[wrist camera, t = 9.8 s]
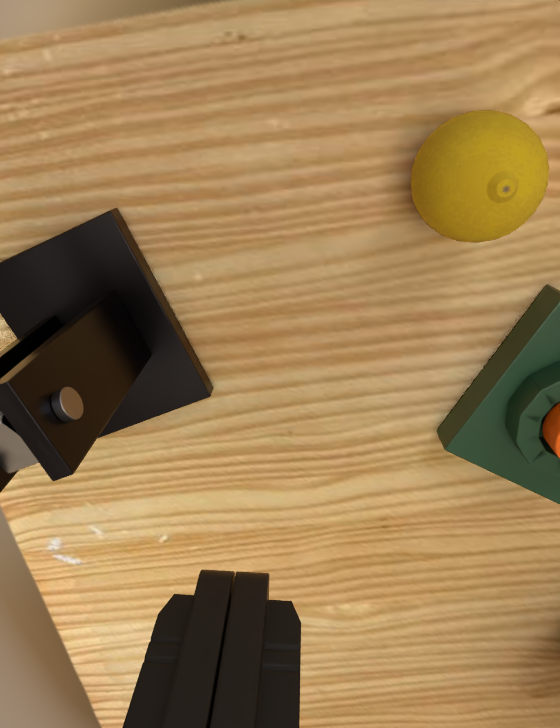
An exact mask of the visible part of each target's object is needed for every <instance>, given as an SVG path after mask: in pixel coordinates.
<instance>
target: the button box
mask: <svg viewBox="0 0 560 728" xmlns="http://www.w3.org/2000/svg"><path fill="white" fill-rule="evenodd" d="M558 403H560V291H559V290H557V289H555V288H553V287H551V286H549V285H546V286H545V288H544V289H543V290H542V292H541V293H540V294H539V296H538V297H537V298H536V300H535V301H534V302H533V304H532V305H531V306H530V308H529V309H528V310H527V312H526V313H525V314H524V315H523V317H522V318H521V319H520V321H519V322H518V323H517V325H516V326H515V327H514V329H513V330H512V331H511V333H510V334H509V335H508V337H507V338H506V339H505V341H504V342H503V343H502V345H501V346H500V347H499V349H498V350H497V351H496V353H495V354H494V355H493V357H492V358H491V359H490V361H489V362H488V363H487V365H486V366H485V367H484V369H483V370H482V371H481V373H480V374H479V375H478V377H477V378H476V379H475V381H474V382H473V383H472V385H471V386H470V387H469V389H468V390H467V391H466V392H465V394H464V395H463V396H462V398H461V399H460V400H459V402H458V403H457V404H456V406H455V407H454V408H453V410H452V411H451V412H450V414H449V415H448V416H447V418H446V419H445V420H444V422H443V423H442V424H441V426H440V427H439V428H438V430H437V433H438V435H439V438H440V440H441V442H442V445H443V447H444V449H445V450H446V451H448V452H450V453H453V454H455V455H457V456H459V457H461V458H463V459H465V460H467V461H469V462H472V463H474V464H476V465H478V466H480V467H482V468H484V469H486V470H488V471H491V472H493V473H495V474H497V475H499V476H501V477H503V478H505V479H507V480H510V481H512V482H514V483H516V484H518V485H520V486H522V487H524V488H526V489H529V490H531V491H533V492H535V493H537V494H539V495H541V496H543V497H545V498H548V499H550V500H552V501H554V502H556V503H558V504H560V459H559V457H558V456H557V455H556V453H555V452H554V451H553V450H552V448H551V447H550V446H549V444H548V443H547V442H546V440H545V438H544V436H543V423H544V420H545V417H546V416H547V414H548V413H549V411H550V410H551V409H552V408H553V407H554V406H555V405H557V404H558Z"/></svg>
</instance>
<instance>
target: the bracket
mask: <svg viewBox="0 0 560 728" xmlns="http://www.w3.org/2000/svg"><path fill="white" fill-rule="evenodd" d="M0 313H1V315H2V316H3V318H4V319H5V321H6V322H7V324H8V325H9V327H10V328H11V330H12V331H13V333H14V334H15V336H16V337H17V340H15V341H14V342H13V343H11V344H10V345H9V346H7V347H6V348H5V349H3V350H2V351H1V352H0V410H1V411H2V413H3V414H4V415H5V417H6V418H7V419H8V421H9V422H10V423H11V425H12V426H13V428H14V429H15V430H16V432H17V433H18V434H19V436H20V437H21V438H22V440H23V441H24V443H25V444H26V445H27V447H28V448H29V449H30V451H31V452H32V453H33V455H34V456H35V458H36V459H37V460H38V462H39V463H40V464H41V466H42V467H43V469H44V470H45V471H46V473H47V474H48V475H49V477H50V478H51V479H52V481H56V480H58V479H61V478H64V477H67V476H70V475H72V474H74V472H75V471H76V469H77V468H78V466H79V465H80V463H81V462H82V460H83V459H84V457H85V456H86V454H87V453H88V451H89V450H90V448H91V447H92V445H93V444H94V442H95V441H96V439H97V438H99V437H102V436H105V435H108V434H110V433H113V432H116V431H118V430H121V429H124V428H126V427H129V426H132V425H135V424H137V423H140V422H143V421H145V420H148V419H151V418H153V417H156V416H159V415H162V414H164V413H167V412H170V411H172V410H175V409H178V408H180V407H183V406H186V405H189V404H191V403H194V402H197V401H199V400H202V399H205V398H207V397H210V396H211V393H212V390H213V386H212V384H211V382H210V380H209V379H208V377H207V375H206V373H205V371H204V369H203V367H202V365H201V364H200V362H199V360H198V358H197V356H196V354H195V352H194V351H193V349H192V347H191V345H190V343H189V341H188V339H187V337H186V336H185V334H184V332H183V330H182V328H181V326H180V324H179V323H178V321H177V319H176V317H175V315H174V313H173V311H172V309H171V308H170V306H169V304H168V302H167V300H166V298H165V296H164V294H163V293H162V291H161V289H160V287H159V285H158V283H157V281H156V280H155V278H154V276H153V274H152V272H151V270H150V268H149V266H148V265H147V263H146V261H145V259H144V257H143V255H142V253H141V252H140V250H139V248H138V246H137V244H136V242H135V240H134V238H133V237H132V235H131V233H130V231H129V229H128V227H127V225H126V224H125V222H124V220H123V218H122V216H121V214H120V212H119V210H118V209H117V208H115V209H113V210H111V211H108V212H106V213H104V214H102V215H100V216H98V217H96V218H94V219H91V220H89V221H87V222H85V223H83V224H81V225H79V226H77V227H74V228H72V229H70V230H68V231H66V232H64V233H62V234H60V235H57V236H55V237H53V238H51V239H49V240H47V241H45V242H43V243H40V244H38V245H36V246H34V247H32V248H30V249H28V250H26V251H24V252H21V253H19V254H17V255H15V256H13V257H11V258H9V259H7V260H4V261H2V262H0ZM18 471H19V470H17V471H15V472H12V473H7V472H5V471H4V470H2V469H1V468H0V492H1V491H2V490H3V489H4V488H5V486H6V485H7V484H8V483H9V482H10V480H11V479H12V478H13V477H14V475H15V474H16V473H17V472H18Z"/></svg>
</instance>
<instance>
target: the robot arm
mask: <svg viewBox="0 0 560 728" xmlns="http://www.w3.org/2000/svg"><path fill="white" fill-rule="evenodd" d="M300 648H301V622H300V619H299V617H298V615H297V612H296V610H295V608H294V606H293V603H292V601H280V600H269V573H253V572H236V576H235V572H234V571H217V570H201V572H200V574H199V578H198V582H197V586H196V590H195V594H194V595H181V594H174V595H173V596H172V598H171V599H170V600H169V601H168V603H167V604H166V605H165V606H164V608H163V609H162V610H161V611H160V613H159V614H158V617H157V620H156V623H155V626H154V629H153V633H152V636H151V641H150V642H149V645H148V648H147V652H146V655H145V660H144V663H143V664H142V668H141V671H140V674H139V677H138V680H137V683H136V687H135V690H134V693H133V696H132V699H131V702H130V706H129V709H128V712H127V715H126V718H125V722H124V725H123V728H299V712H300Z"/></svg>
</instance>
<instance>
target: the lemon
mask: <svg viewBox="0 0 560 728" xmlns="http://www.w3.org/2000/svg"><path fill="white" fill-rule="evenodd" d="M548 175H549V165H548V158H547V153H546V151H545V148H544V146H543V144H542V142H541V140H540V138H539V137H538V136H537V135H536V133H535V132H534V131H533V130H532V129H531V128H530V127H529V126H528V125H527V124H526V123H524V122H522V121H521V120H519V119H517V118H516V117H514V116H512V115H510V114H507V113H502V112H498V111H493V110H484V111H471V112H468V113H465V114H462V115H459V116H456V117H453V118H452V119H450V120H449V121H447V122H445V123H444V124H442V125H441V126H439V127H438V128H437V129H436V130H435V131H434V132H433V133H432V134H431V135H430V136H429V137H428V138H427V139H426V140H425V142H424V144H423V145H422V147H421V148H420V150H419V151H418V153H417V156H416V159H415V161H414V164H413V167H412V174H411V190H412V198H413V201H414V203H415V206H416V208H417V211H418V213H419V214H420V216H421V217H422V218H423V219H424V221H425V222H426V223H427V224H428V225H429V226H430V227H431V228H433V229H434V230H435V231H437V232H438V233H439V234H441V235H443V236H445V237H448V238H451V239H454V240H456V241H462V242H475V243H477V242H484V241H490V240H495V239H498V238H500V237H502V236H505V235H507V234H510V233H511V232H513V231H514V230H516V229H517V228H519V227H520V226H521V225H523V224H524V223H525V222H526V221H527V220H528V219H529V218H530V217H531V216H532V214H533V213H534V212H535V211H536V209H537V207H538V206H539V204H540V203H541V201H542V199H543V197H544V194H545V191H546V188H547V185H548Z"/></svg>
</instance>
